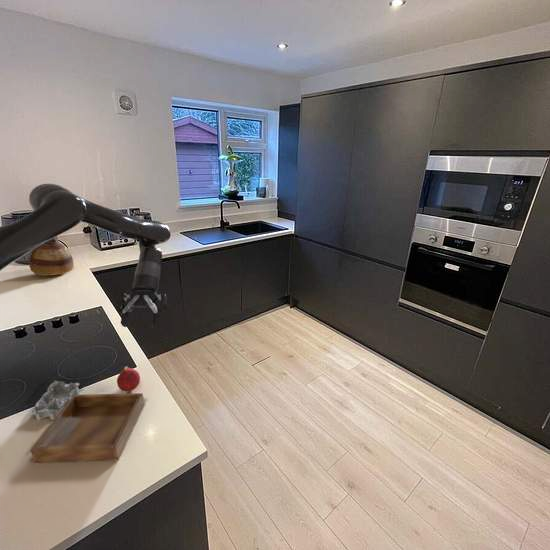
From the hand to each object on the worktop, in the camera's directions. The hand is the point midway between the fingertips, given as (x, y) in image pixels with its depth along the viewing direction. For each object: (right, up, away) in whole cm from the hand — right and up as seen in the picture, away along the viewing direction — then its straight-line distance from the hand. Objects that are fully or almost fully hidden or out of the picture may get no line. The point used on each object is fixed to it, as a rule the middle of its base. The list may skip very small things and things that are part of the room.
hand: (138, 326), depth 88 cm
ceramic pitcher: (-83, +17, +75) cm, 114 cm away
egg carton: (-16, -19, -11) cm, 27 cm away
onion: (0, -17, -5) cm, 18 cm away
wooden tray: (-2, -22, -18) cm, 29 cm away
